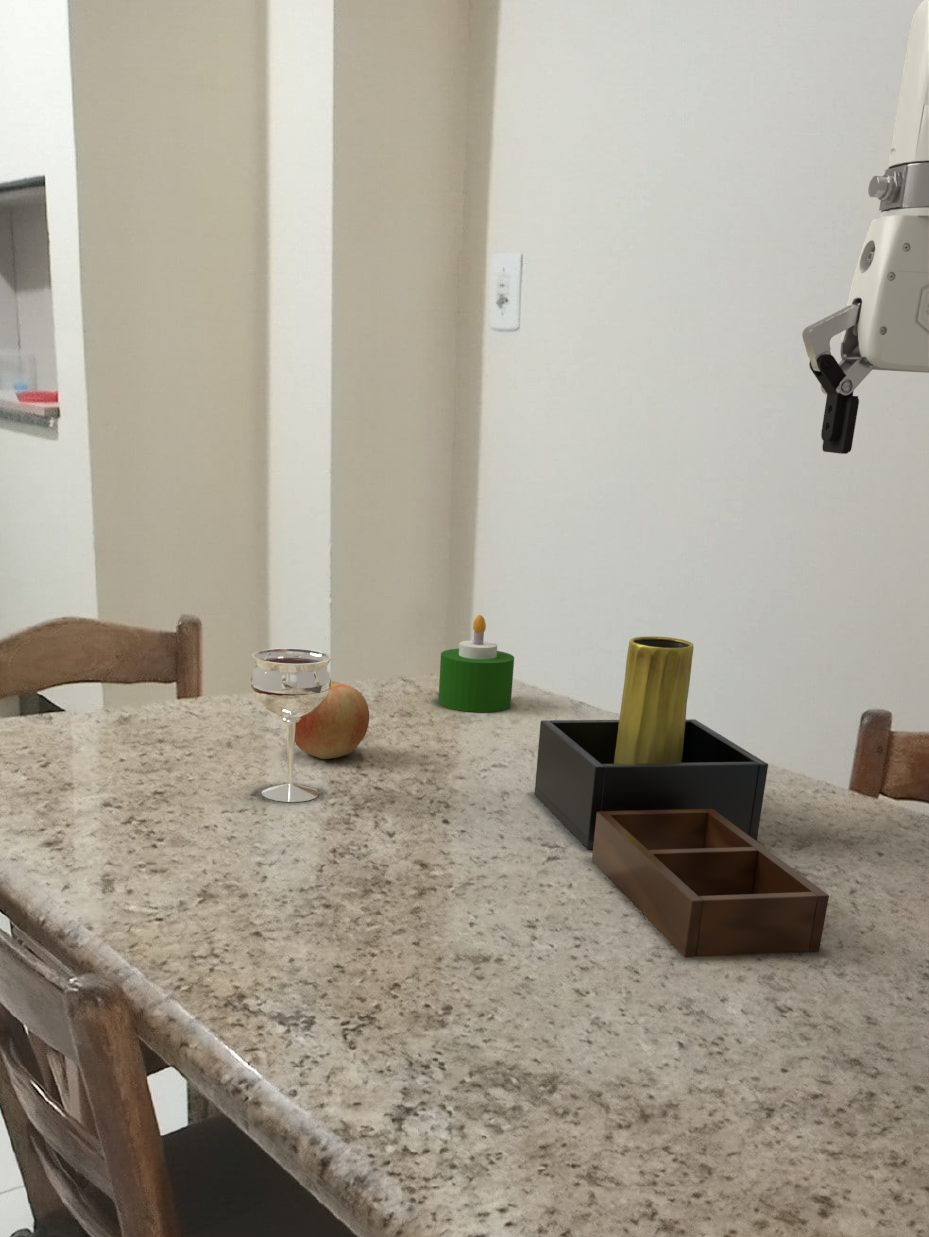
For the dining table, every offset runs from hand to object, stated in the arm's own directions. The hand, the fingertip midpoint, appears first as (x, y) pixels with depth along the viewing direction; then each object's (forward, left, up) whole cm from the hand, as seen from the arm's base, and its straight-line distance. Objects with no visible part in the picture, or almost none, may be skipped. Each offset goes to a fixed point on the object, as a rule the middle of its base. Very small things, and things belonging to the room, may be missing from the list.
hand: (893, 454), depth 98 cm
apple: (+39, -26, -31) cm, 56 cm away
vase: (+15, -5, -30) cm, 34 cm away
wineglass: (+44, -14, -31) cm, 55 cm away
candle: (+19, -47, -31) cm, 59 cm away
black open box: (+15, -5, -30) cm, 34 cm away
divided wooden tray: (+18, +14, -30) cm, 38 cm away
